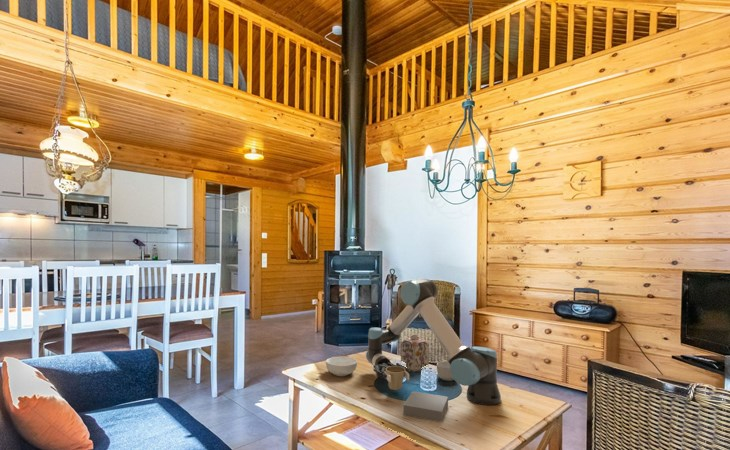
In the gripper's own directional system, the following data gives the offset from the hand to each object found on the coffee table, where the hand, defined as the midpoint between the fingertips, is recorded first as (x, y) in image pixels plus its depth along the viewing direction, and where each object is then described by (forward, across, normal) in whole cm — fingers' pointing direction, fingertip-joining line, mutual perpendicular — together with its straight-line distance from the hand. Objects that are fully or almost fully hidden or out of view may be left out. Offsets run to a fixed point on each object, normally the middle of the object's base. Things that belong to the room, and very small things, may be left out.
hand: (399, 377), depth 176 cm
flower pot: (-5, 0, -6) cm, 8 cm away
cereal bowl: (-39, +17, -9) cm, 43 cm away
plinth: (+15, -6, -9) cm, 18 cm away
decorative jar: (-37, -26, -9) cm, 47 cm away
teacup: (-17, -35, -9) cm, 40 cm away
